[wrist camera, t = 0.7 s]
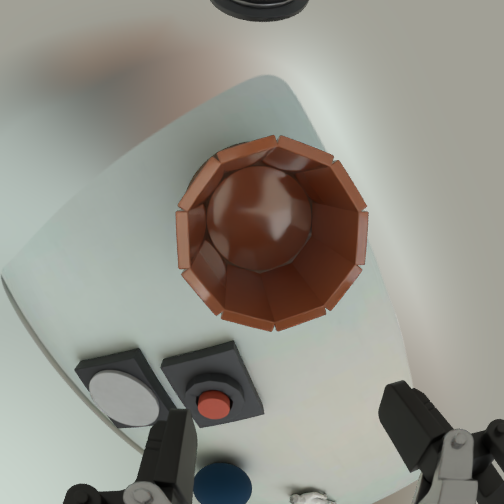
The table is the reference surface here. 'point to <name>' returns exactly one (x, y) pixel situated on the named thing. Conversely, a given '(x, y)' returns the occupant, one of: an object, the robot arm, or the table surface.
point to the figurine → (310, 499)
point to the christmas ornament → (222, 485)
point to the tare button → (214, 404)
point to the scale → (125, 389)
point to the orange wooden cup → (271, 233)
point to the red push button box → (213, 382)
